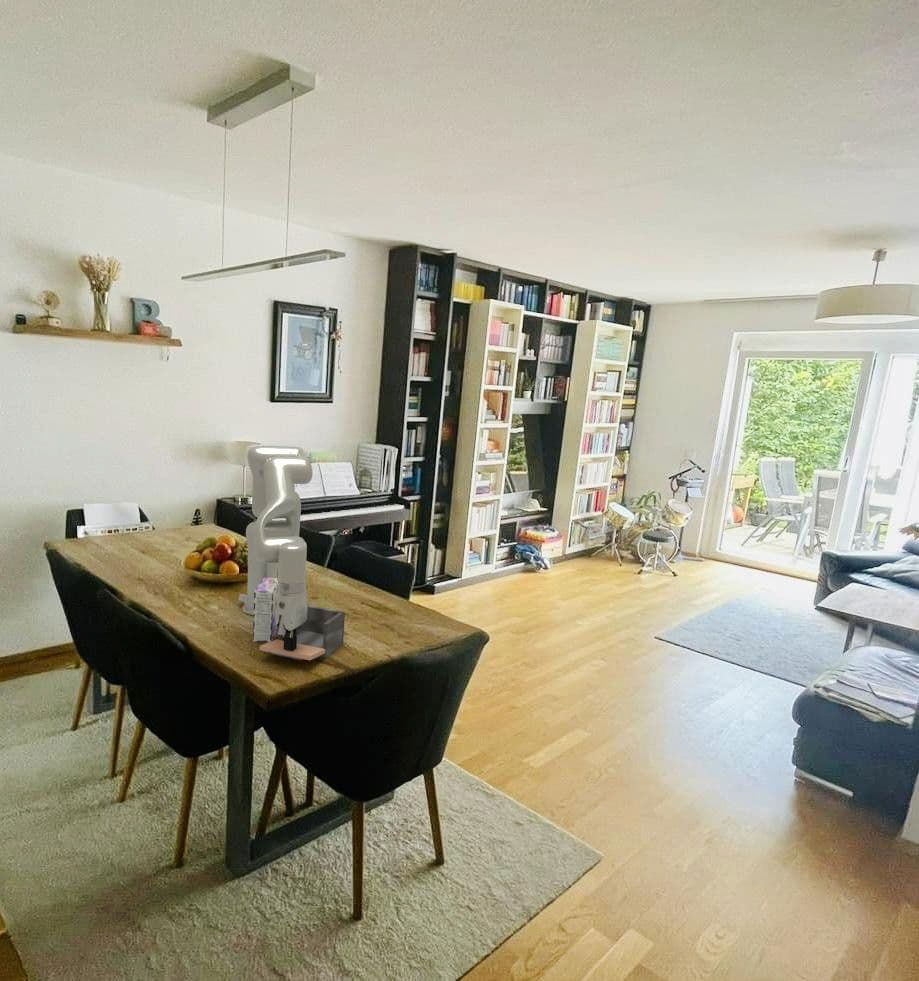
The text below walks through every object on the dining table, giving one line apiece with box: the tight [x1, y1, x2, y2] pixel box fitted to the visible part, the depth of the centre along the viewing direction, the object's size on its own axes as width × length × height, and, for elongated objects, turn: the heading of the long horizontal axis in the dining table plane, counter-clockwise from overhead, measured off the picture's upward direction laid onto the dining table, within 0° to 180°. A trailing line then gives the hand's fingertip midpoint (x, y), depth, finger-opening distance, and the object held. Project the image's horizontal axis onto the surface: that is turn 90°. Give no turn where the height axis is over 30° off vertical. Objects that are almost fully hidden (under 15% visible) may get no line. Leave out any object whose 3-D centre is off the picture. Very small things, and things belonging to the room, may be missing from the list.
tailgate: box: [259, 639, 326, 661], centre depth 177 cm, size 16×2×9 cm
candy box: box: [252, 577, 279, 643], centre depth 193 cm, size 14×6×16 cm, turn 5°
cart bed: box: [277, 604, 346, 659], centre depth 187 cm, size 16×11×10 cm
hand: (290, 649), depth 174 cm, fingers closed
